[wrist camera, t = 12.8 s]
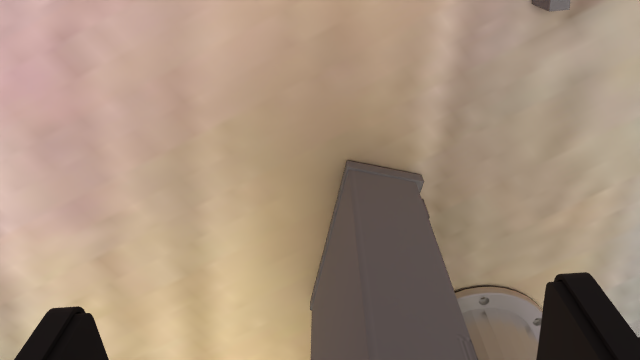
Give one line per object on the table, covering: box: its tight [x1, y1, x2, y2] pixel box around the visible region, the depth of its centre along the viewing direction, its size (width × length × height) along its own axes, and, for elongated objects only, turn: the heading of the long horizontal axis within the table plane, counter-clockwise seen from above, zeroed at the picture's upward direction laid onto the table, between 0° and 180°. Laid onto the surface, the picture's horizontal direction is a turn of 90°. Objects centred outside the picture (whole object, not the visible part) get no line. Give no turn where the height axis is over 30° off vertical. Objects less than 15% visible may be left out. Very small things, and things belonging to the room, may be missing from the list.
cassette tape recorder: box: [310, 161, 478, 360], centre depth 32 cm, size 14×6×25 cm, turn 168°
